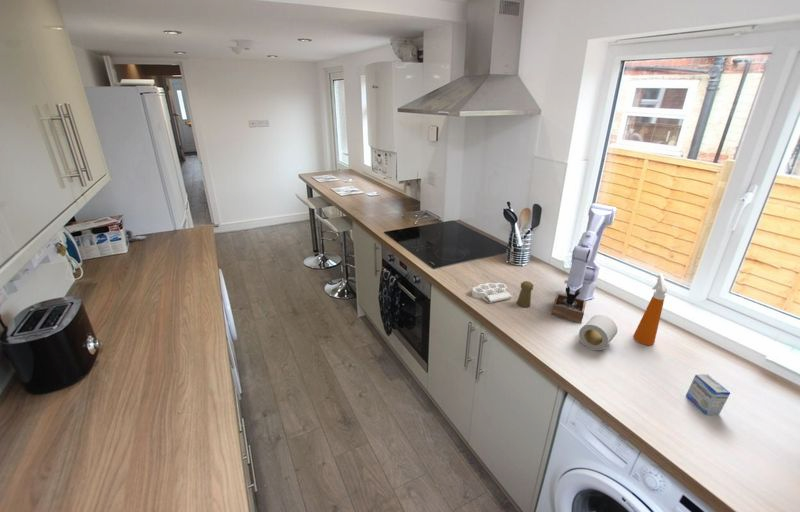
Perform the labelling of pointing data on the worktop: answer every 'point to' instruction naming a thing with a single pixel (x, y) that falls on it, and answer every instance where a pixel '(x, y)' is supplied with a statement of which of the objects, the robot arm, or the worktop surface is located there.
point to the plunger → (569, 305)
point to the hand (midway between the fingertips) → (570, 302)
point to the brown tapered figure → (525, 295)
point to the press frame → (568, 309)
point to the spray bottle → (652, 314)
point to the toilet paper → (598, 332)
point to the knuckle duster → (491, 292)
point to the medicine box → (707, 394)
